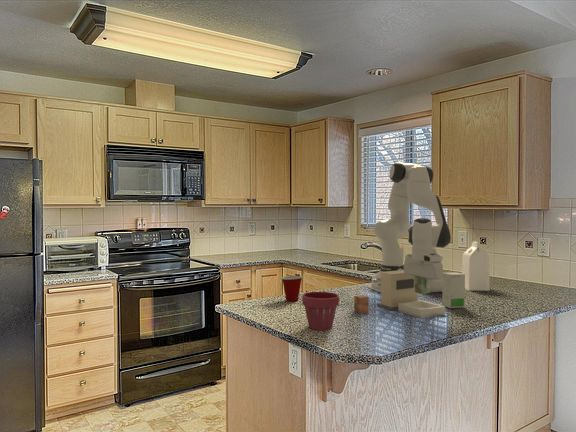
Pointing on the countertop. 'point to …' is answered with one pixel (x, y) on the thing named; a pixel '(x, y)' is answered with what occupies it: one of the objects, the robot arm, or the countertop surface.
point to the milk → (476, 268)
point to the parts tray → (421, 309)
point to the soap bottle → (436, 284)
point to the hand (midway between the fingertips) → (422, 287)
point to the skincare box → (453, 290)
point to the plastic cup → (292, 287)
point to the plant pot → (320, 309)
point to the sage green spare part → (421, 285)
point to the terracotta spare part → (361, 304)
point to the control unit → (396, 289)
